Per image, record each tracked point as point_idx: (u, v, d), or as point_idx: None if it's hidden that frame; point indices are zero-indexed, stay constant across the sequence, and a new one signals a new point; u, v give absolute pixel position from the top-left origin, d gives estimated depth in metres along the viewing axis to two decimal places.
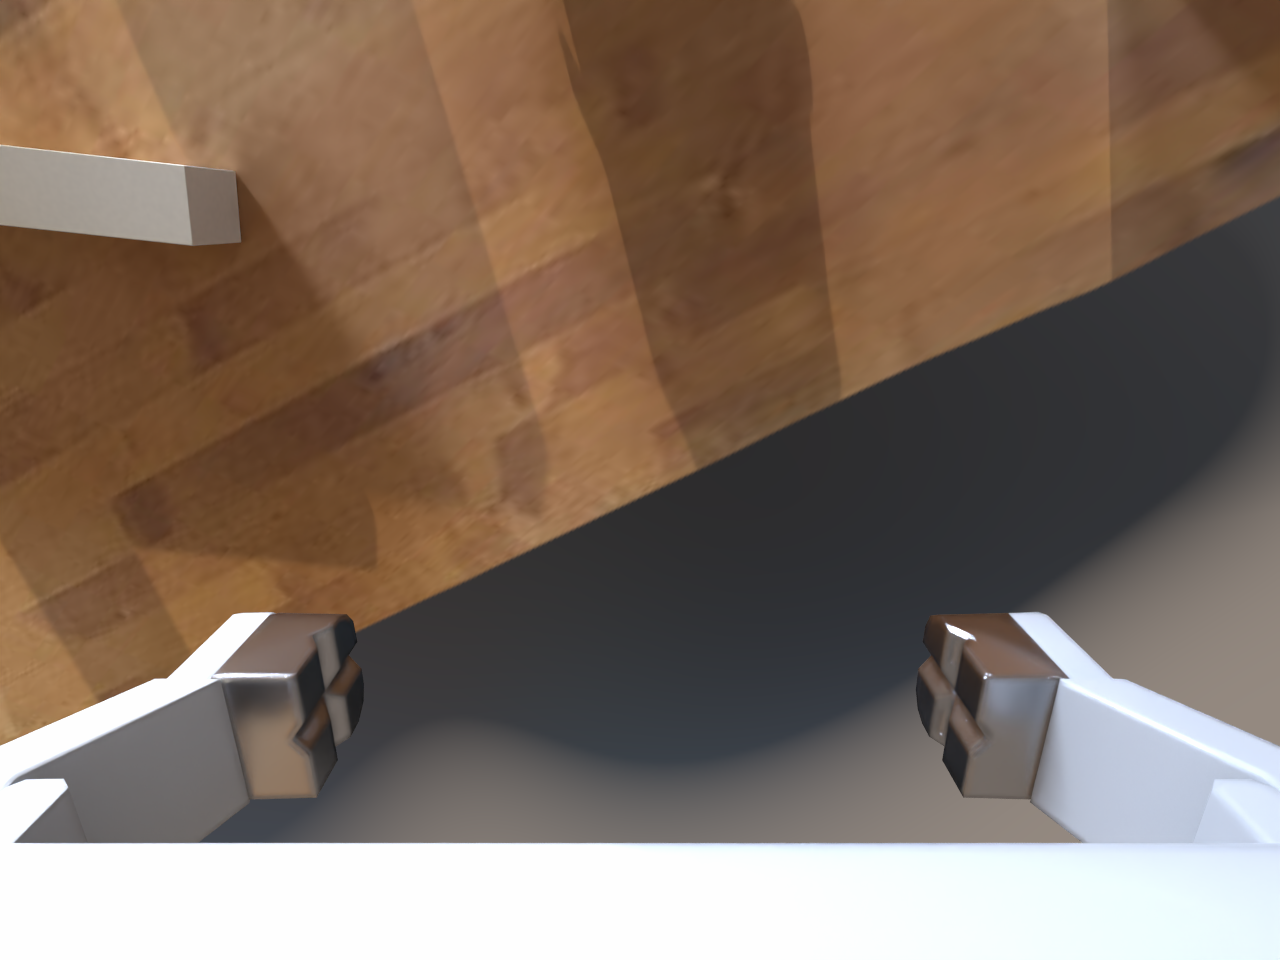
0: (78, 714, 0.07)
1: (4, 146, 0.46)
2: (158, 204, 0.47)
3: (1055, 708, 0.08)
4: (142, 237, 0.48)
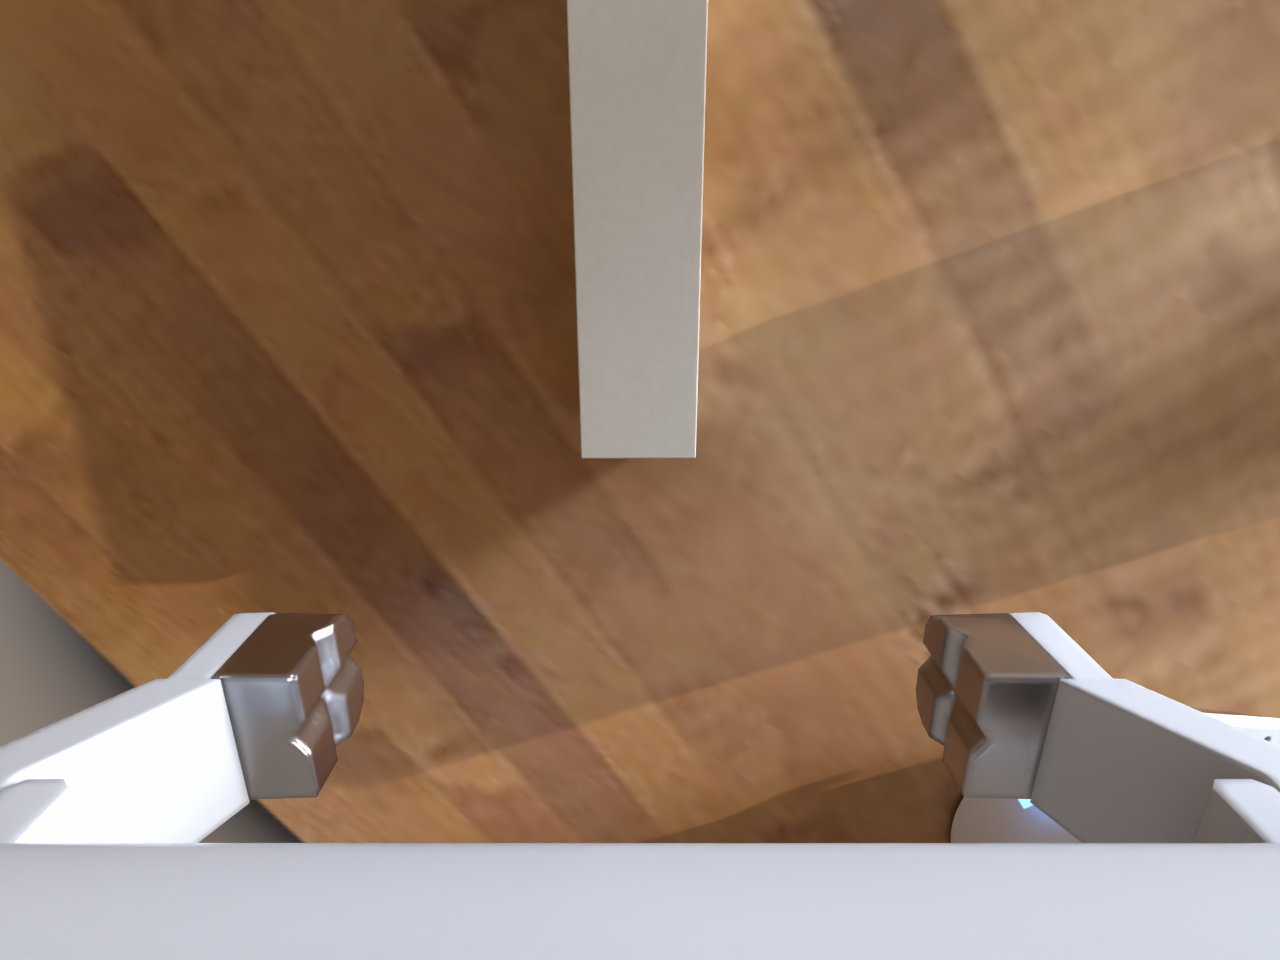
0: (78, 714, 0.07)
1: (701, 174, 0.27)
2: (636, 415, 0.30)
3: (1055, 708, 0.08)
4: (583, 383, 0.30)
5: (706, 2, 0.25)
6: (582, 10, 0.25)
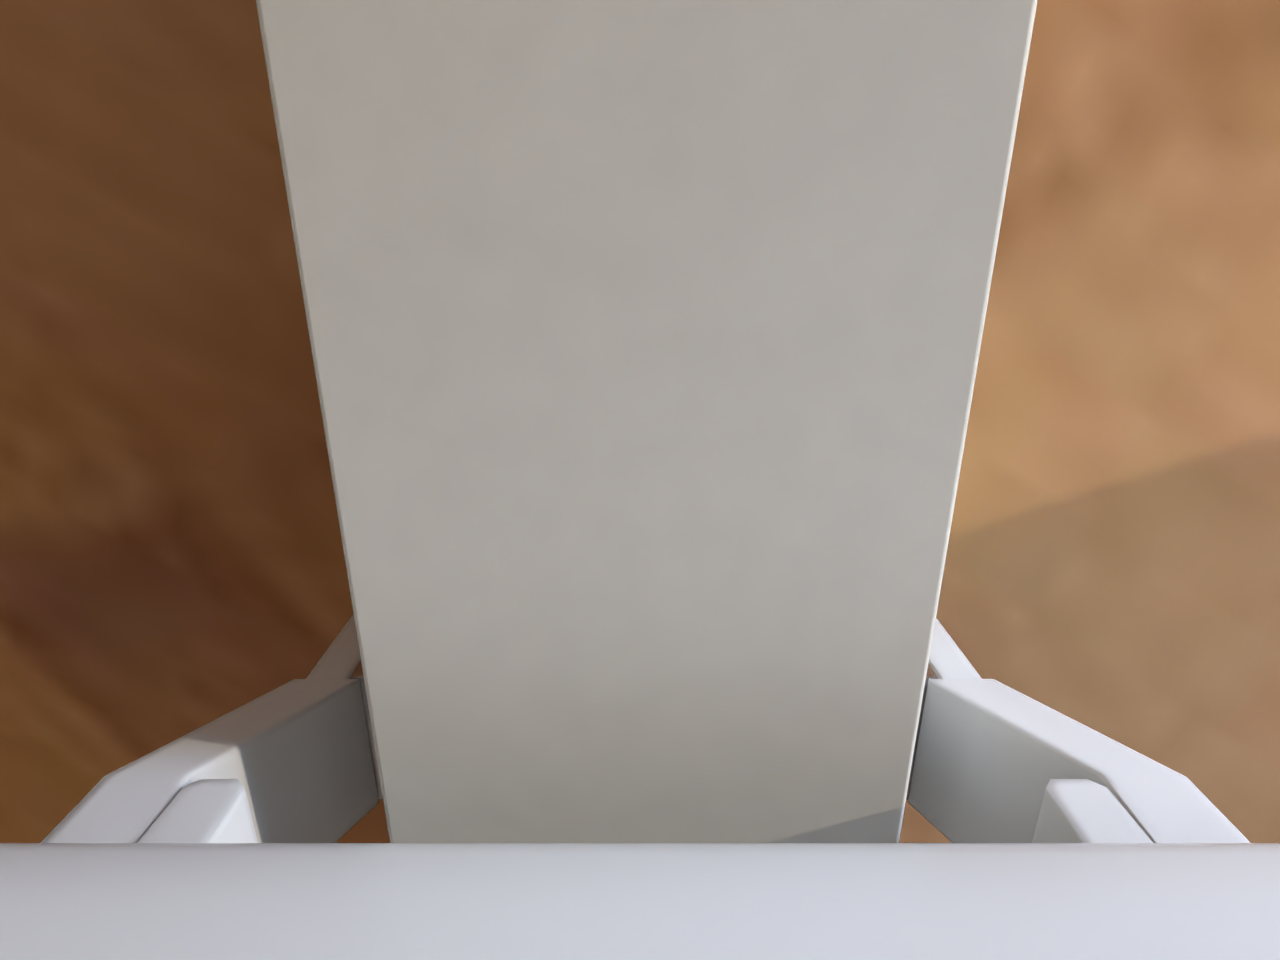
0: (229, 714, 0.07)
1: None
2: None
3: (925, 708, 0.08)
4: None
5: None
6: None
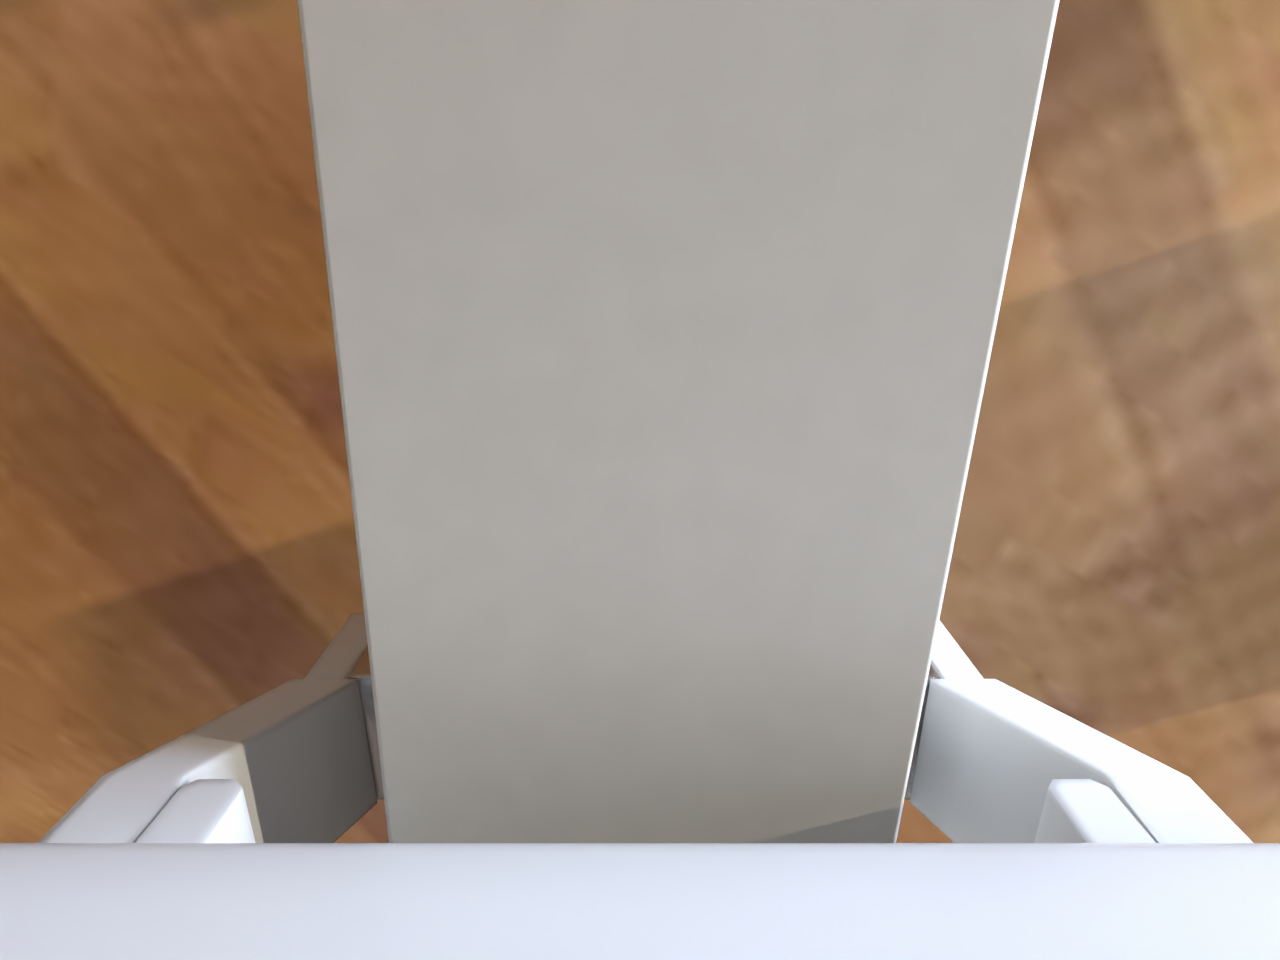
0: (227, 714, 0.07)
1: None
2: None
3: (926, 708, 0.08)
4: None
5: None
6: None
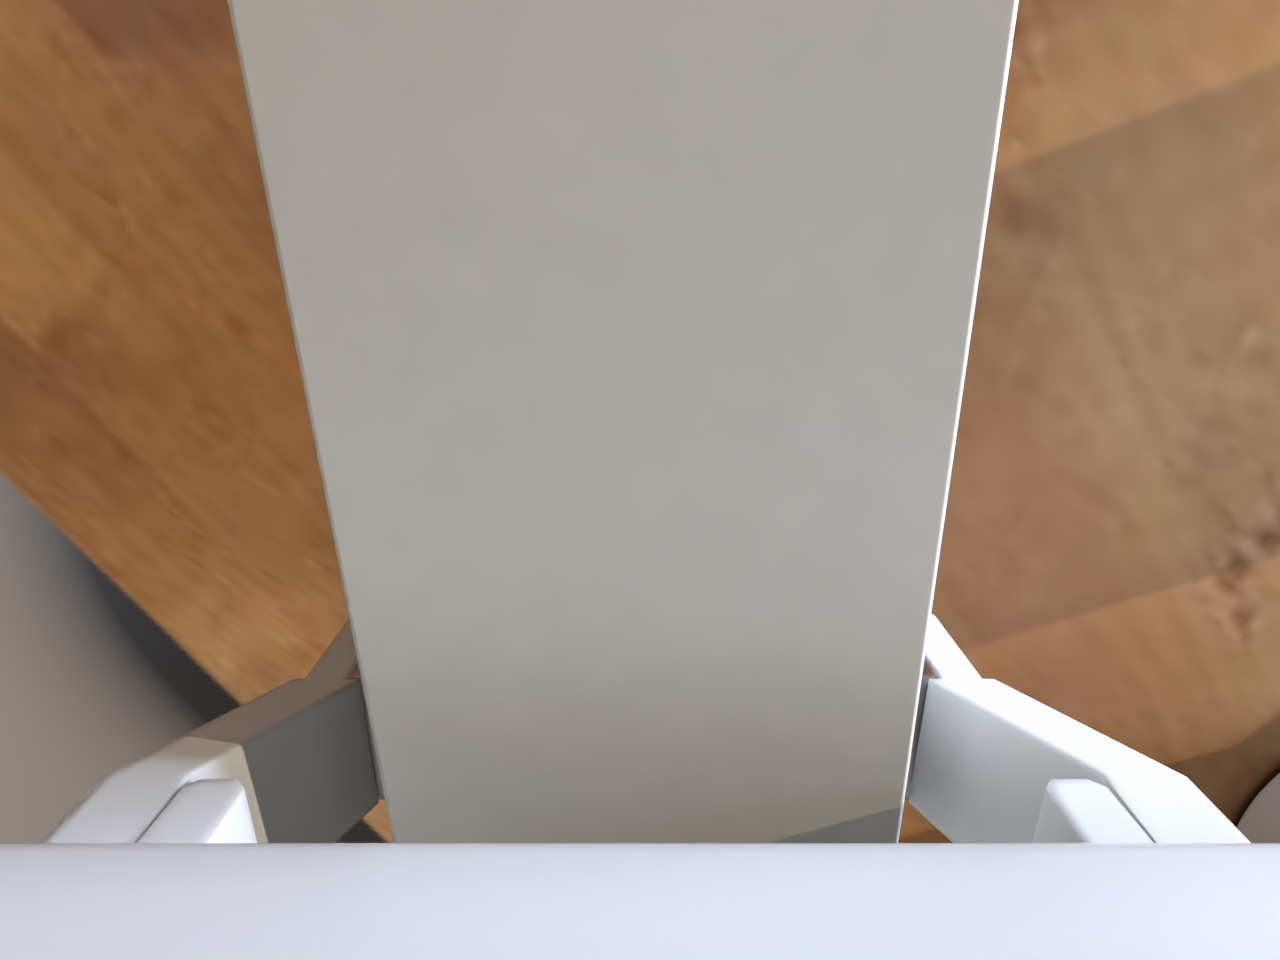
0: (229, 714, 0.07)
1: None
2: None
3: (925, 708, 0.08)
4: None
5: None
6: None
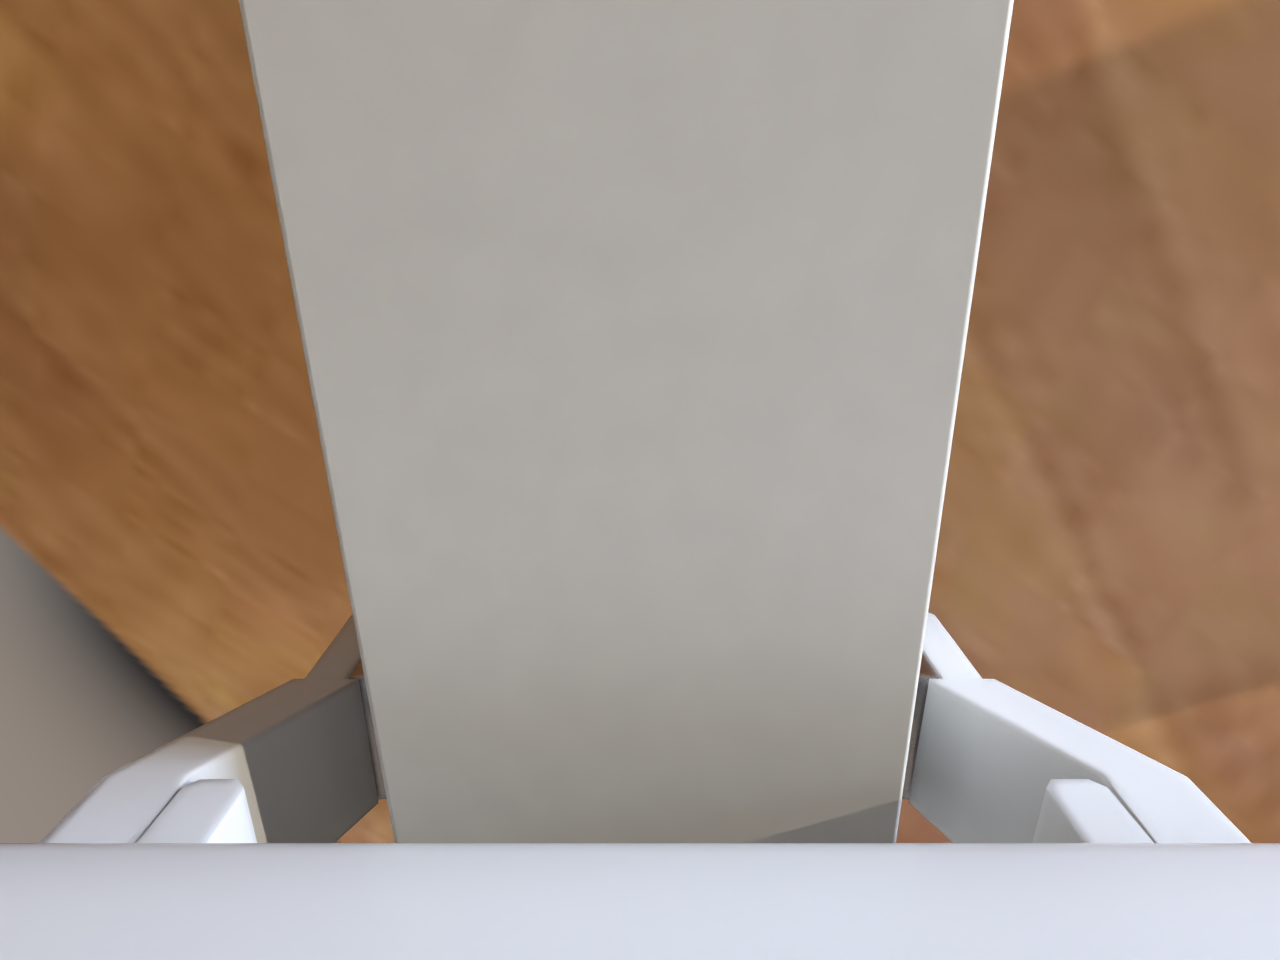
0: (229, 714, 0.07)
1: None
2: None
3: (925, 708, 0.08)
4: None
5: None
6: None
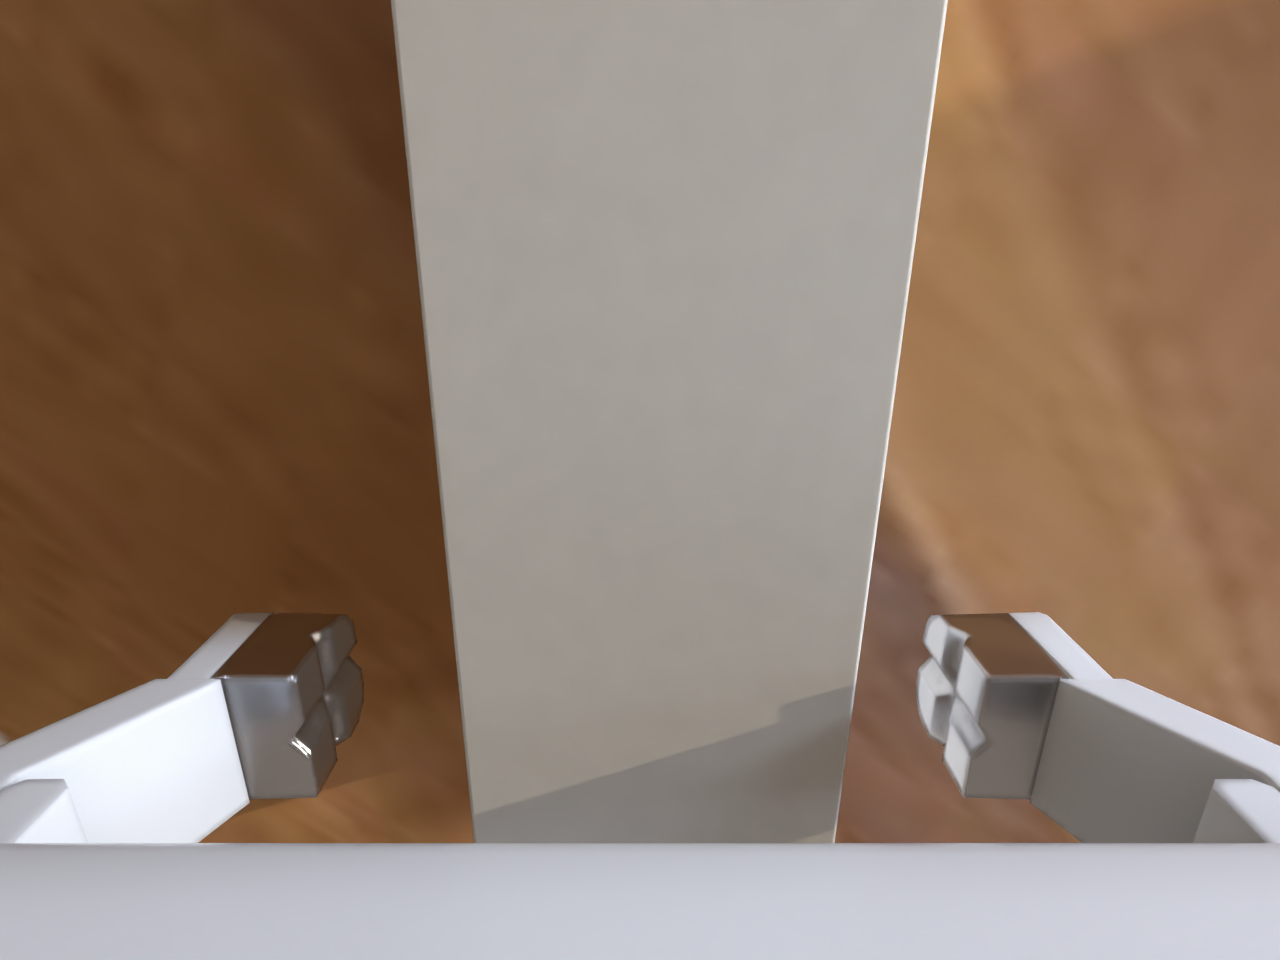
0: (78, 714, 0.07)
1: (940, 6, 0.06)
2: (648, 820, 0.10)
3: (1055, 708, 0.08)
4: (478, 737, 0.09)
5: None
6: None
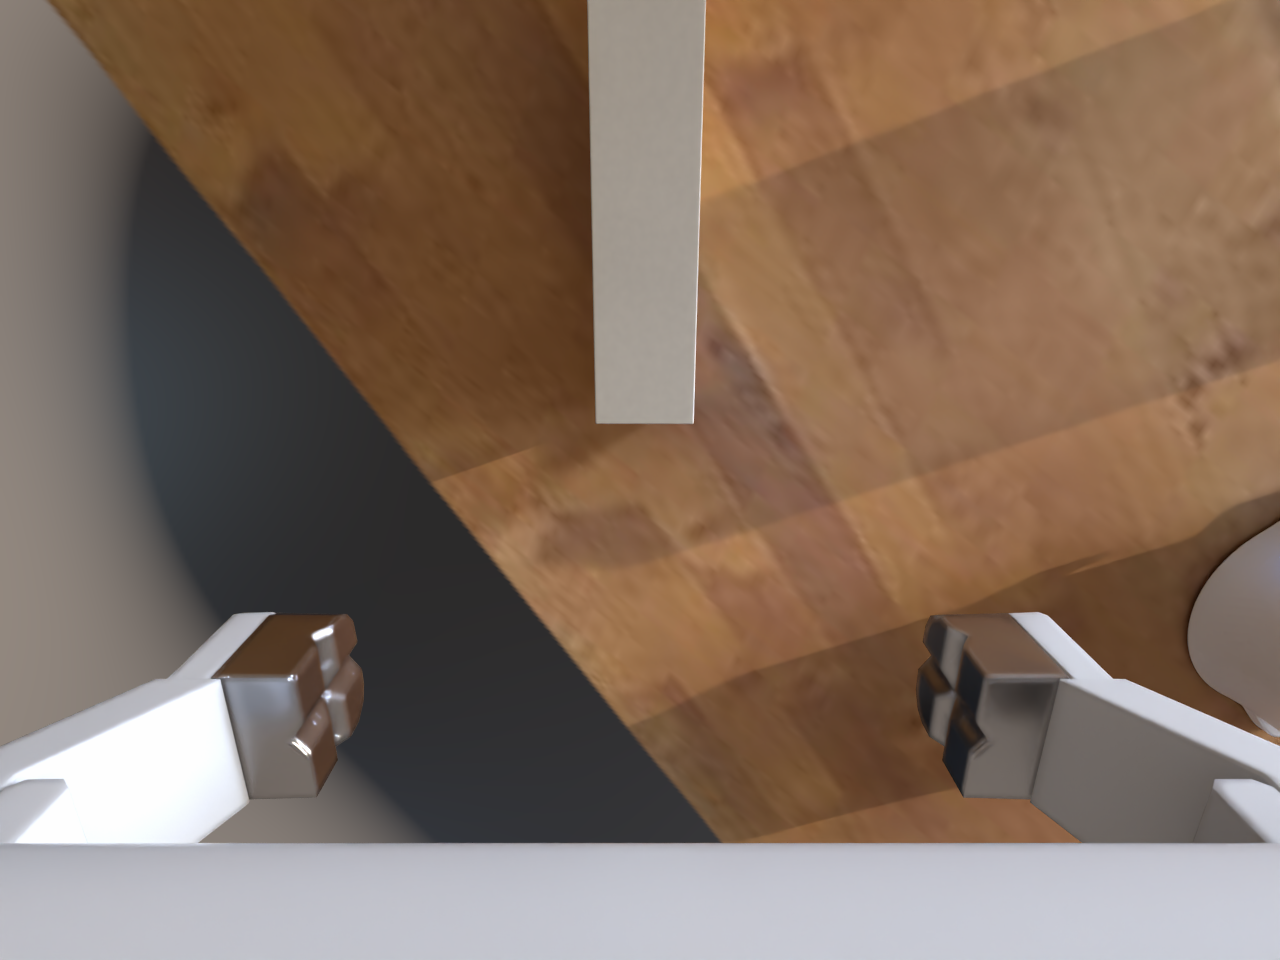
0: (78, 714, 0.07)
1: (699, 181, 0.32)
2: (642, 386, 0.36)
3: (1055, 708, 0.08)
4: (598, 359, 0.35)
5: (703, 40, 0.30)
6: (601, 46, 0.31)
